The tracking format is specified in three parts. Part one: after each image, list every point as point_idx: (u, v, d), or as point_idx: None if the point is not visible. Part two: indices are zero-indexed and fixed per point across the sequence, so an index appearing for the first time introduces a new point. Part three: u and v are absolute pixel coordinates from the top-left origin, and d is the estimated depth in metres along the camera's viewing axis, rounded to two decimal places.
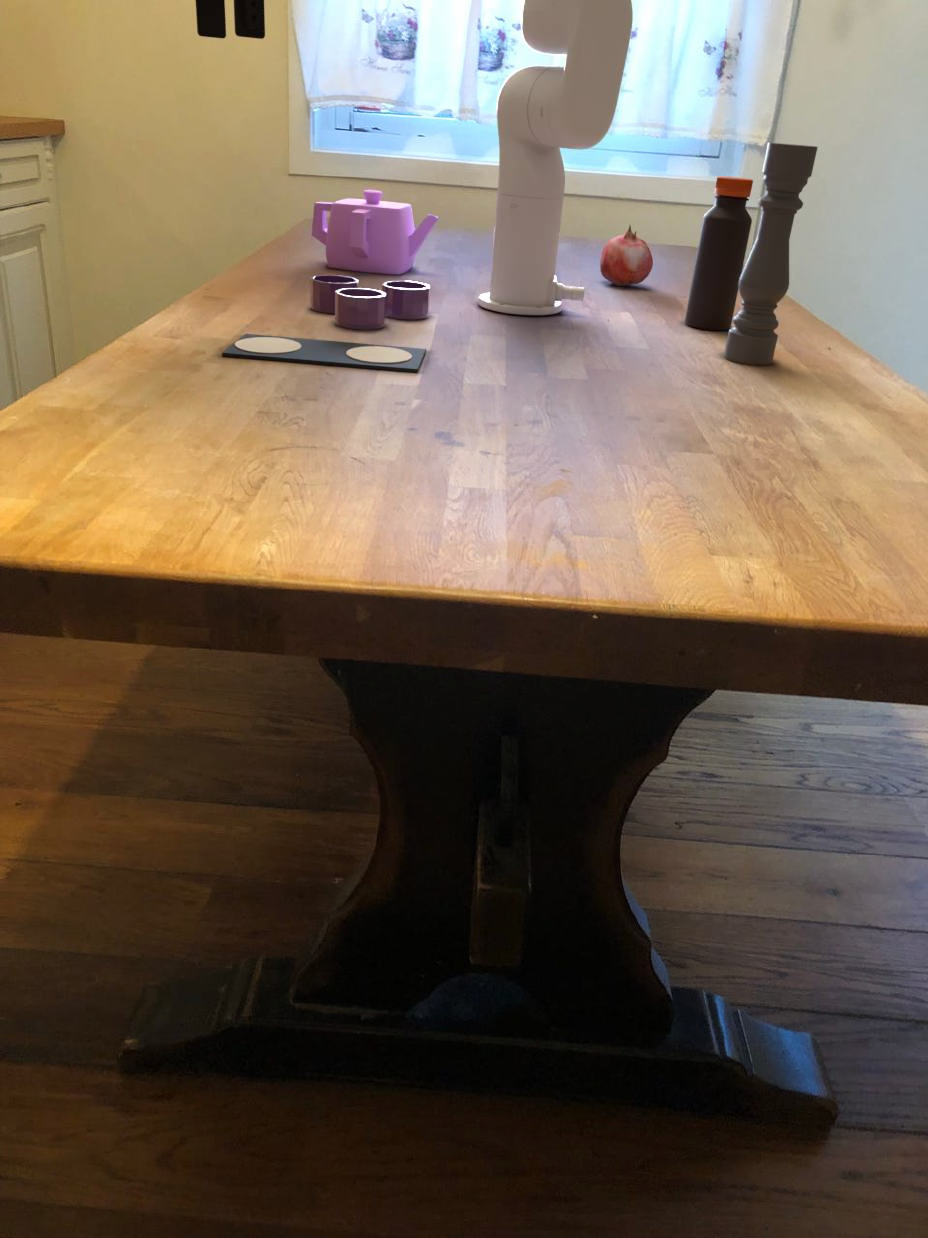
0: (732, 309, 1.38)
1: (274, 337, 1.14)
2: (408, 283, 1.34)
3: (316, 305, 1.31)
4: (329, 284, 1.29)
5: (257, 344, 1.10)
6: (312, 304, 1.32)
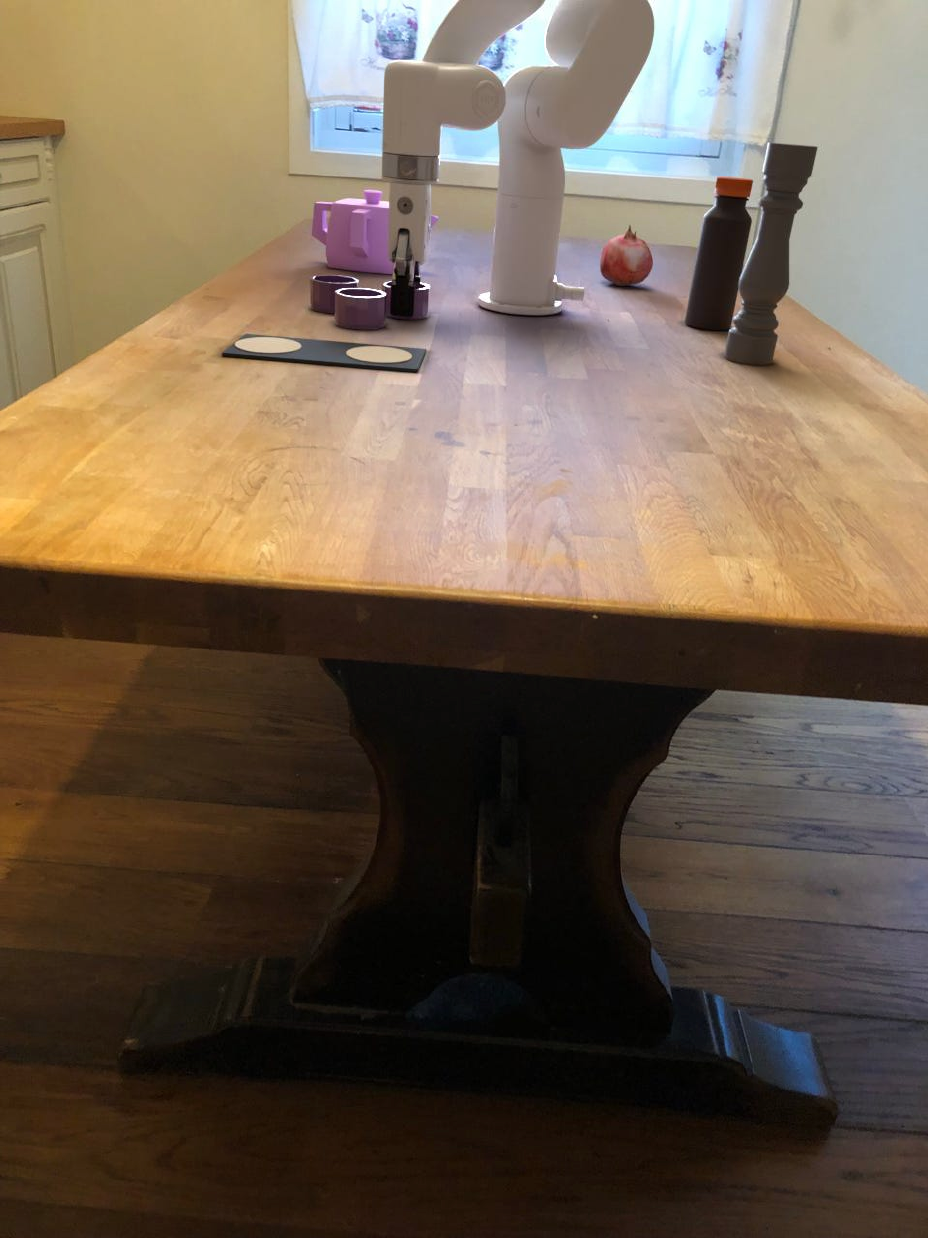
0: (732, 309, 1.38)
1: (274, 337, 1.14)
2: None
3: (316, 305, 1.31)
4: (329, 284, 1.29)
5: (257, 344, 1.10)
6: (312, 304, 1.32)
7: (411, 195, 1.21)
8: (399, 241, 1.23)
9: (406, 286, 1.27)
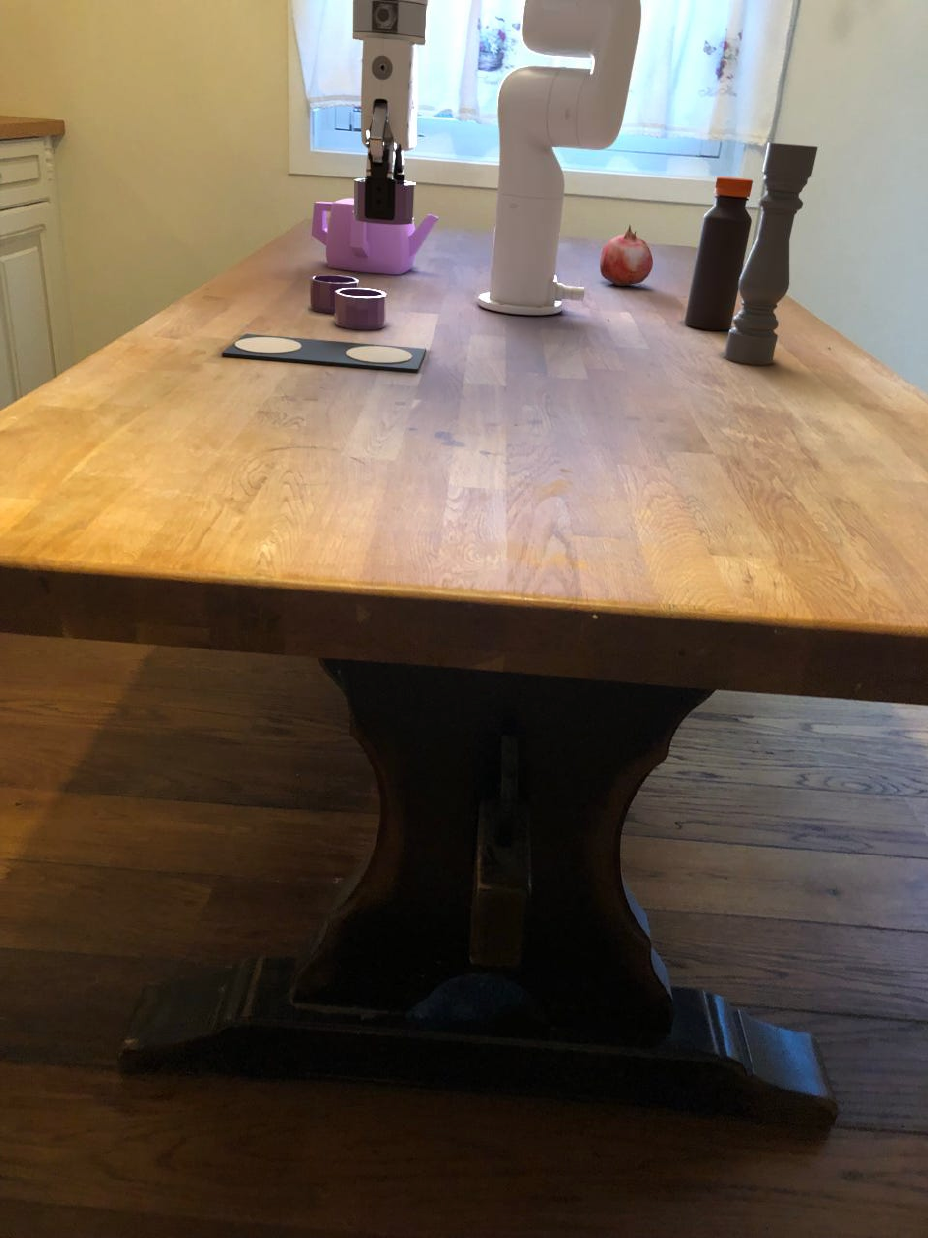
0: (732, 309, 1.38)
1: (274, 337, 1.14)
2: None
3: (316, 305, 1.31)
4: (329, 284, 1.29)
5: (257, 344, 1.10)
6: (312, 304, 1.32)
7: (390, 53, 0.93)
8: (375, 115, 0.95)
9: (384, 178, 0.98)
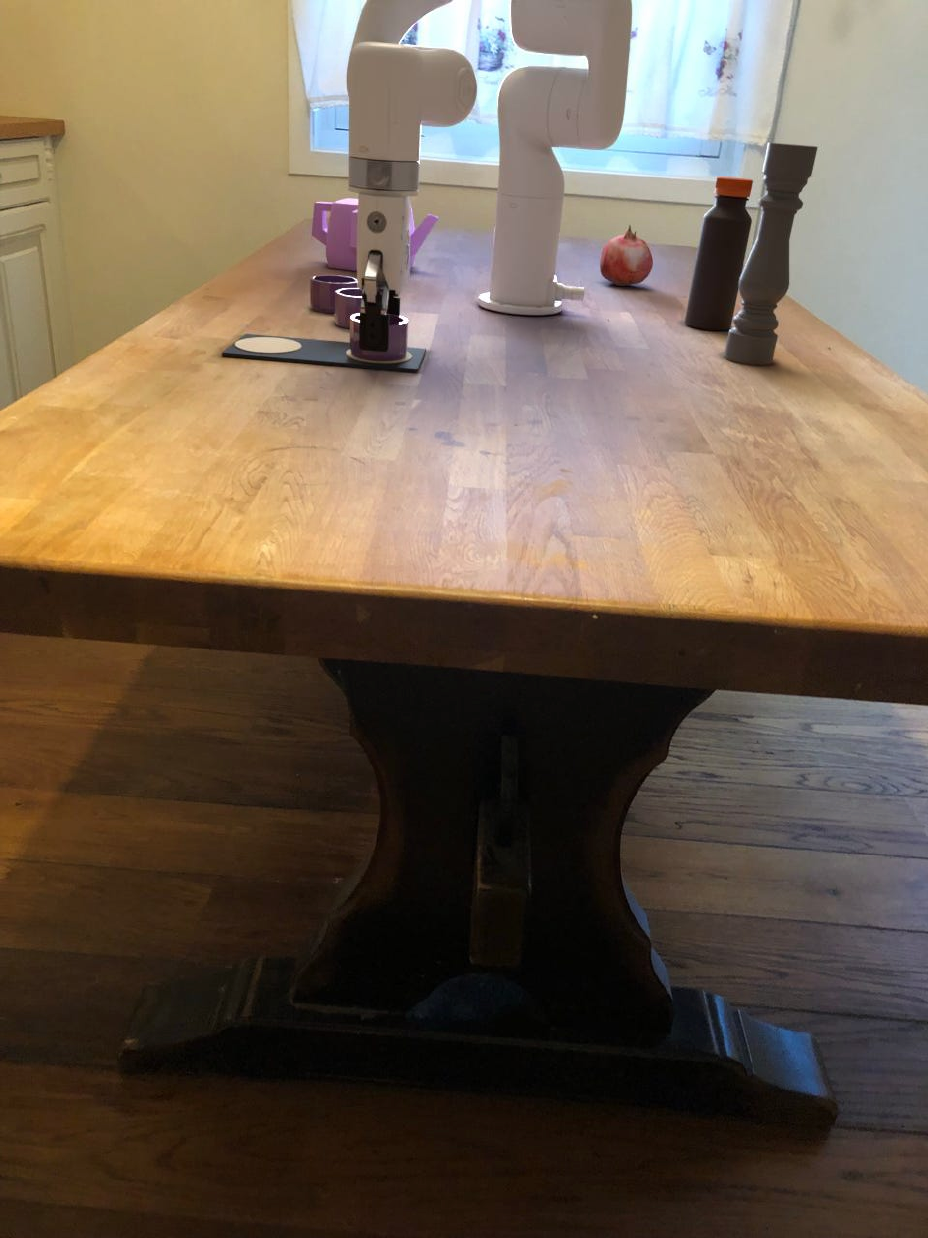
0: (732, 309, 1.38)
1: (274, 337, 1.14)
2: None
3: (316, 305, 1.31)
4: (329, 284, 1.29)
5: (257, 344, 1.10)
6: (312, 304, 1.32)
7: (384, 209, 0.98)
8: (369, 260, 0.99)
9: (378, 315, 1.02)
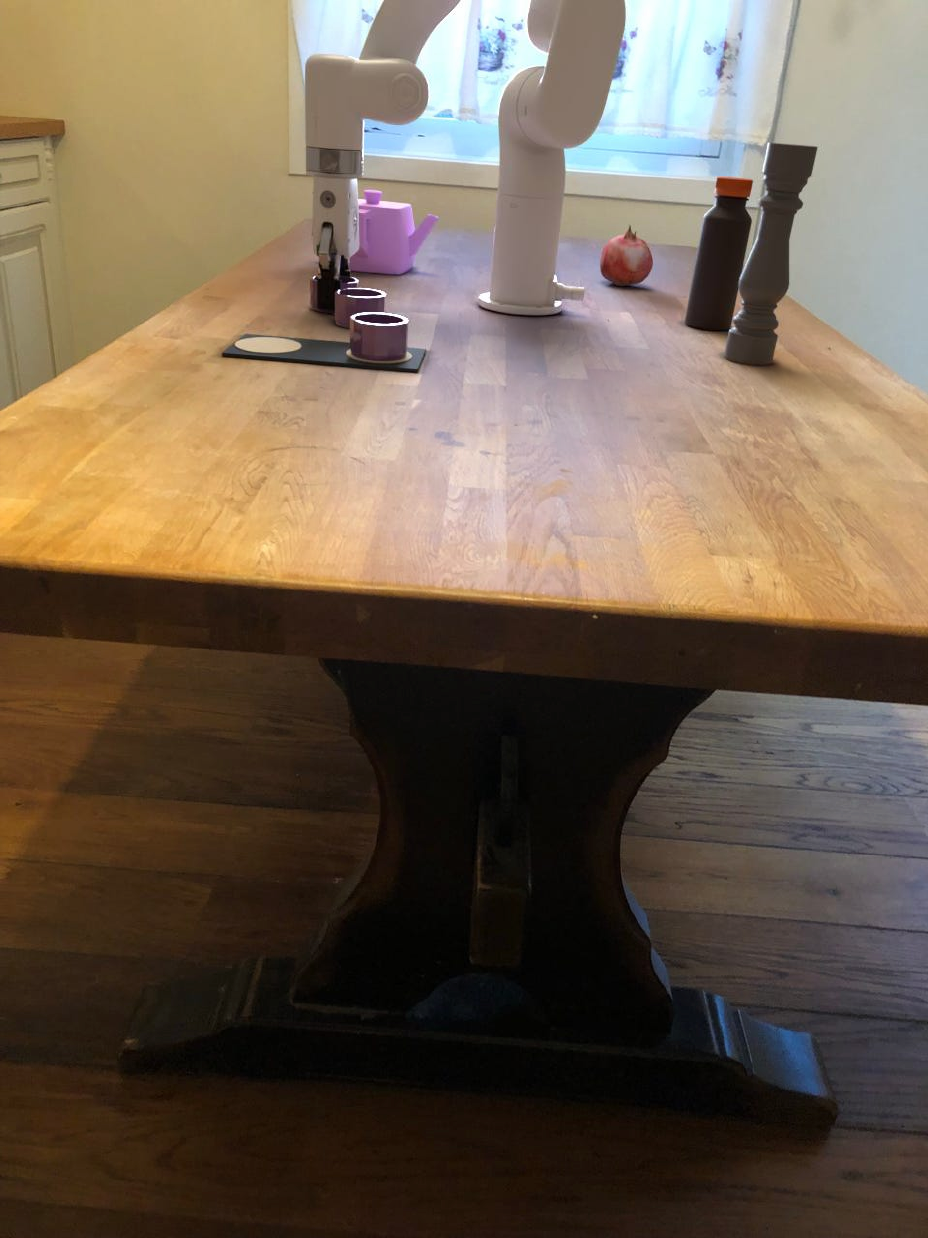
0: (732, 309, 1.38)
1: (274, 337, 1.14)
2: (382, 316, 1.11)
3: (316, 305, 1.31)
4: None
5: (257, 344, 1.10)
6: (312, 304, 1.32)
7: (333, 189, 1.22)
8: (323, 235, 1.23)
9: (332, 280, 1.27)
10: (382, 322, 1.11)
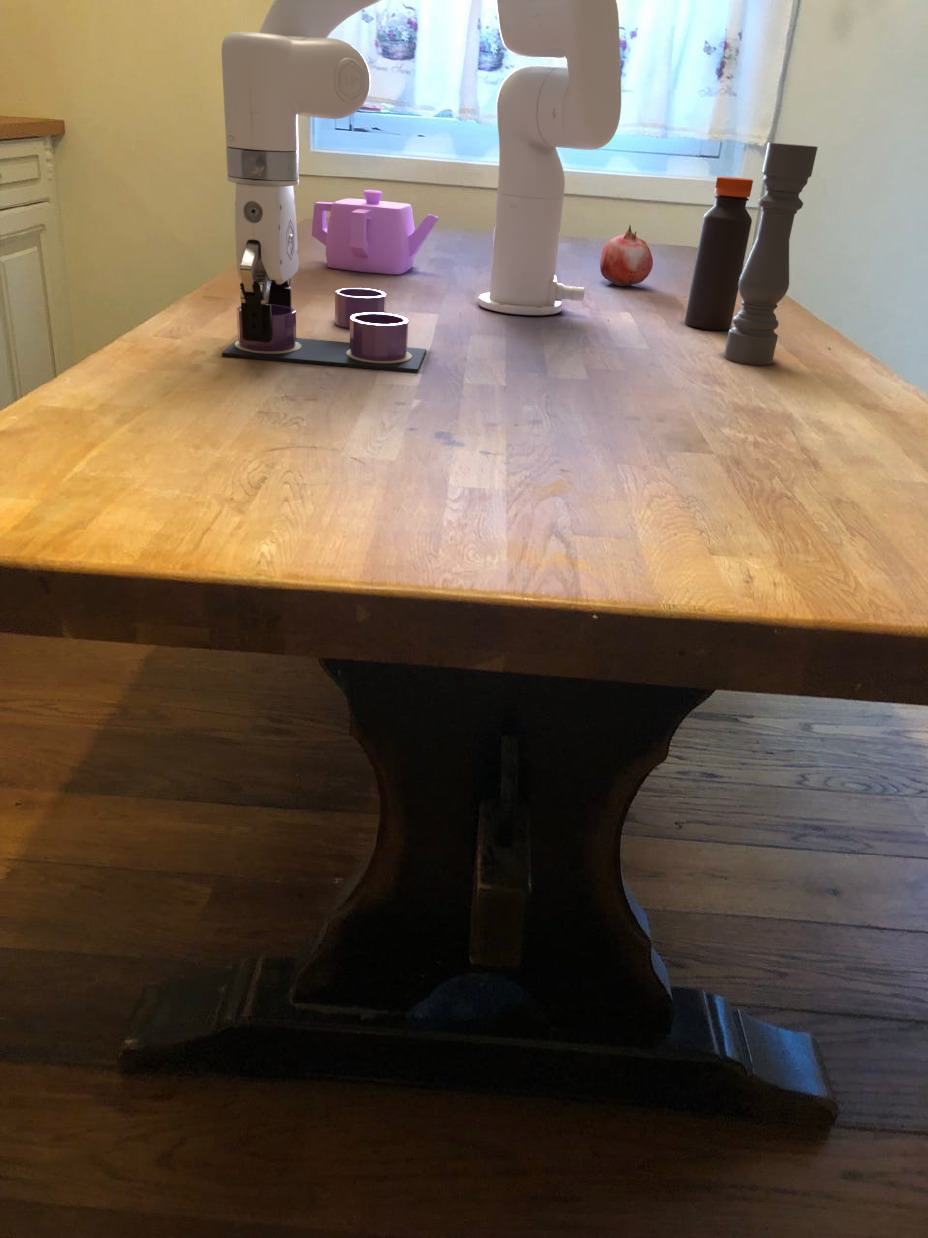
0: (732, 309, 1.38)
1: None
2: (382, 316, 1.11)
3: (244, 342, 1.08)
4: None
5: None
6: (239, 340, 1.09)
7: (260, 199, 0.99)
8: (247, 250, 1.00)
9: (259, 305, 1.03)
10: (382, 322, 1.11)
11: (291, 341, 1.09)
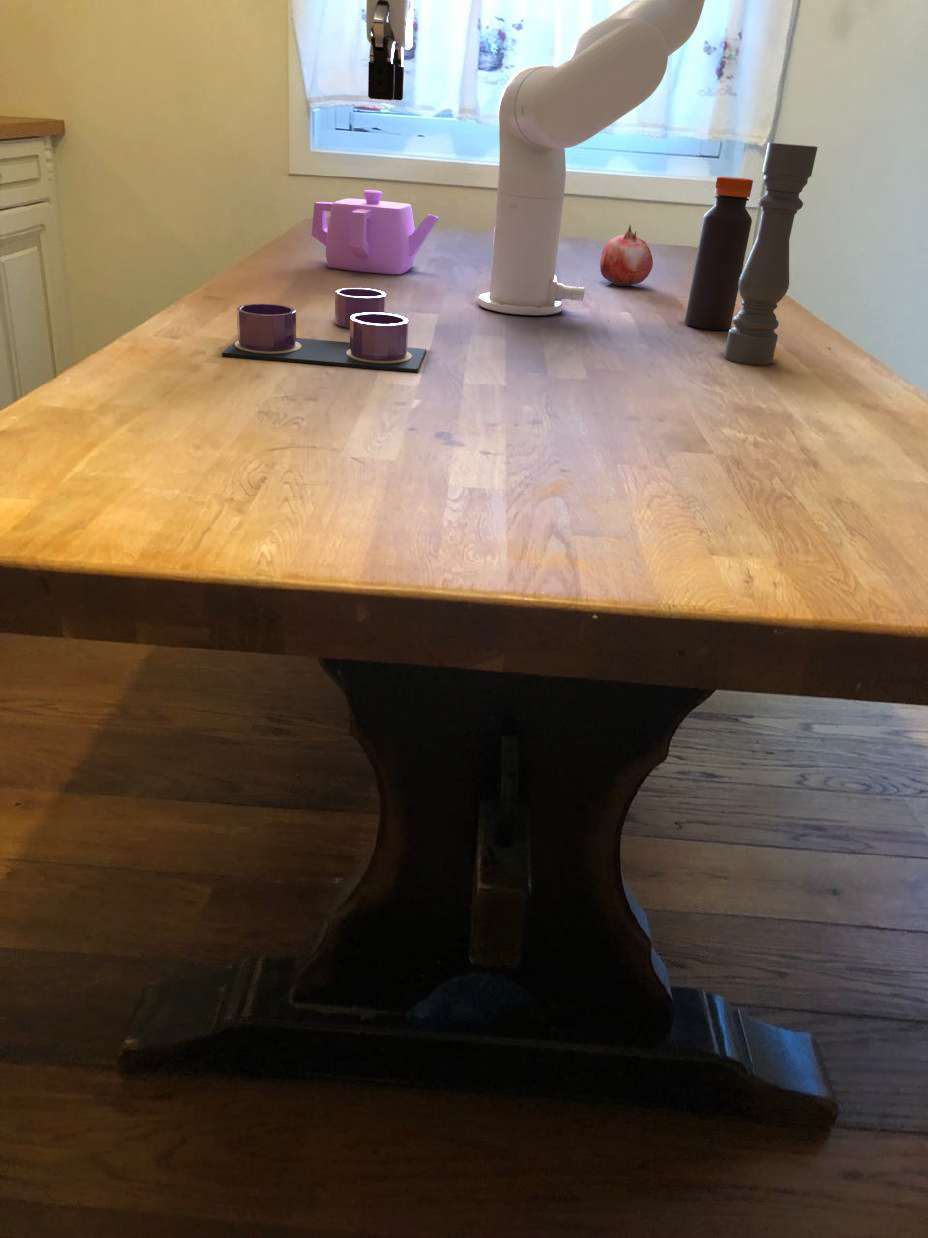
0: (732, 309, 1.38)
1: None
2: (382, 316, 1.11)
3: (244, 342, 1.08)
4: (258, 316, 1.06)
5: None
6: (239, 340, 1.09)
7: None
8: (378, 8, 1.14)
9: (385, 62, 1.17)
10: (382, 322, 1.11)
11: (291, 341, 1.09)
